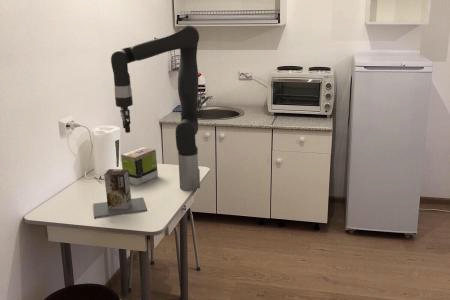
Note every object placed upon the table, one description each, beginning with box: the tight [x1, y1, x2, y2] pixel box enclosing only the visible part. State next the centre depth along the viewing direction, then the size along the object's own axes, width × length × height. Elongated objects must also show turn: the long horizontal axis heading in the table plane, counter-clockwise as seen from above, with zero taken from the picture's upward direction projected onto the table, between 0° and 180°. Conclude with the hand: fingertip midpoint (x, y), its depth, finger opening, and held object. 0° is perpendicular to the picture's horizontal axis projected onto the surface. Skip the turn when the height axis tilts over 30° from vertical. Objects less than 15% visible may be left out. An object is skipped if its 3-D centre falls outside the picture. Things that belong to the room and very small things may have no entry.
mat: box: [93, 196, 148, 219], centre depth 212 cm, size 22×14×1 cm, turn 106°
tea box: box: [120, 146, 159, 186], centre depth 243 cm, size 15×10×15 cm
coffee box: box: [103, 168, 132, 209], centre depth 209 cm, size 9×6×16 cm
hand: (126, 130), depth 222 cm, fingers open, 8 cm apart
